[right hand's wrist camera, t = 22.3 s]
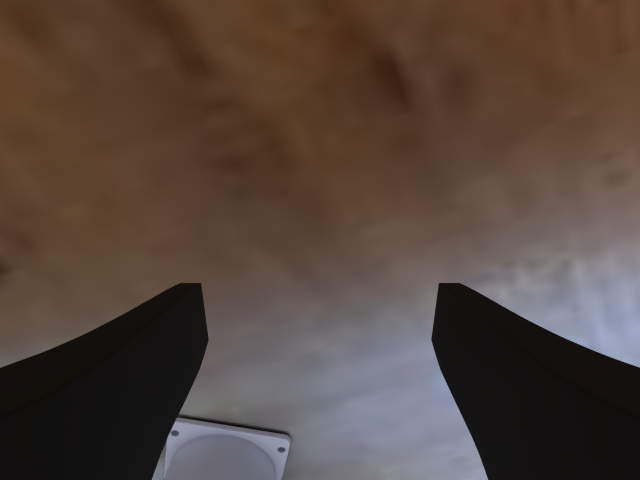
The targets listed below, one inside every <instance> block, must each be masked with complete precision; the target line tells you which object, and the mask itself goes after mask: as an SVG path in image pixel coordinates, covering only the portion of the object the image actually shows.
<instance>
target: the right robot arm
mask: <svg viewBox="0 0 640 480" xmlns="http://www.w3.org/2000/svg"><path fill="white" fill-rule="evenodd" d="M208 340H209V339H208V332H207V324H206V317H205V309H204V302H203V294H202V287H201V283H180V284H178V285H175V286H173V287H171V288H169V289H168V290H166V291H164V292H162V293H160V294H158V295H157V296H155V297H153V298H151V299H150V300H148V301H146V302H144V303H143V304H141V305H139V306H137V307H136V308H134V309H132V310H130V311H129V312H127V313H125V314H123V315H121V316H119V317H117V318H115V319H113V320H112V321H110V322H108V323H106V324H104V325H102V326H100V327H98V328H96V329H94V330H92V331H90V332H88V333H86V334H84V335H82V336H80V337H78V338H75V339H73V340H71V341H69V342H66V343H64V344H62V345H59V346H57V347H55V348H52V349H50V350H47V351H45V352H42V353H40V354H37V355H34V356H32V357H29V358H26V359H23V360H21V361H18V362H15V363H12V364H10V365H7V366H4V367H1V368H0V480H152V477H153V474H154V471H155V469H156V466H157V463H158V460H159V457H160V455H161V452H162V450H163V447H164V445H165V443H166V440H167V444H166V455H165V467H164V478H163V480H281V479H282V476H283V472H284V468H285V464H286V460H287V456H288V452H289V448H290V443H291V439H290V437H289V436H288V435H285V434H279V433H273V432H266V431H260V430H254V429H247V428H241V427H235V426H229V425H222V424H216V423H210V422H203V421H197V420H191V419H184V418H177V417H178V415H179V412H180V410H181V408H182V406H183V404H184V402H185V400H186V398H187V395H188V393H189V391H190V389H191V387H192V385H193V383H194V380H195V378H196V376H197V374H198V372H199V369H200V366H201V363H202V360H203V357H204V354H205V350H206V347H207V343H208ZM431 340H432V343H433V347H434V350H435V354H436V357H437V360H438V363H439V366H440V369H441V372H442V374H443V376H444V378H445V380H446V383H447V385H448V387H449V389H450V391H451V393H452V395H453V398H454V400H455V402H456V404H457V406H458V408H459V410H460V412H461V415H462V417H463V419H464V421H465V423H466V425H467V427H468V429H469V431H470V434H471V436H472V438H473V440H474V443H475V445H476V447H477V450H478V452H479V455H480V457H481V460H482V463H483V466H484V469H485V471H486V474H487V477H488V480H640V368H639V367H636V366H633V365H630V364H628V363H625V362H622V361H619V360H616V359H613V358H611V357H608V356H606V355H603V354H600V353H598V352H595V351H593V350H591V349H588V348H586V347H584V346H581V345H579V344H577V343H574V342H572V341H569V340H567V339H565V338H563V337H561V336H558V335H556V334H554V333H552V332H550V331H548V330H546V329H544V328H542V327H540V326H538V325H536V324H534V323H532V322H530V321H528V320H526V319H525V318H523V317H521V316H519V315H517V314H515V313H514V312H512V311H510V310H508V309H506V308H505V307H503V306H501V305H499V304H498V303H496V302H494V301H492V300H491V299H489V298H487V297H485V296H484V295H482V294H480V293H478V292H476V291H475V290H473V289H471V288H469V287H467V286H465V285H463V284H460V283H439V287H438V294H437V302H436V309H435V317H434V324H433V332H432V339H431ZM175 430H176V431H175Z"/></svg>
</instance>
